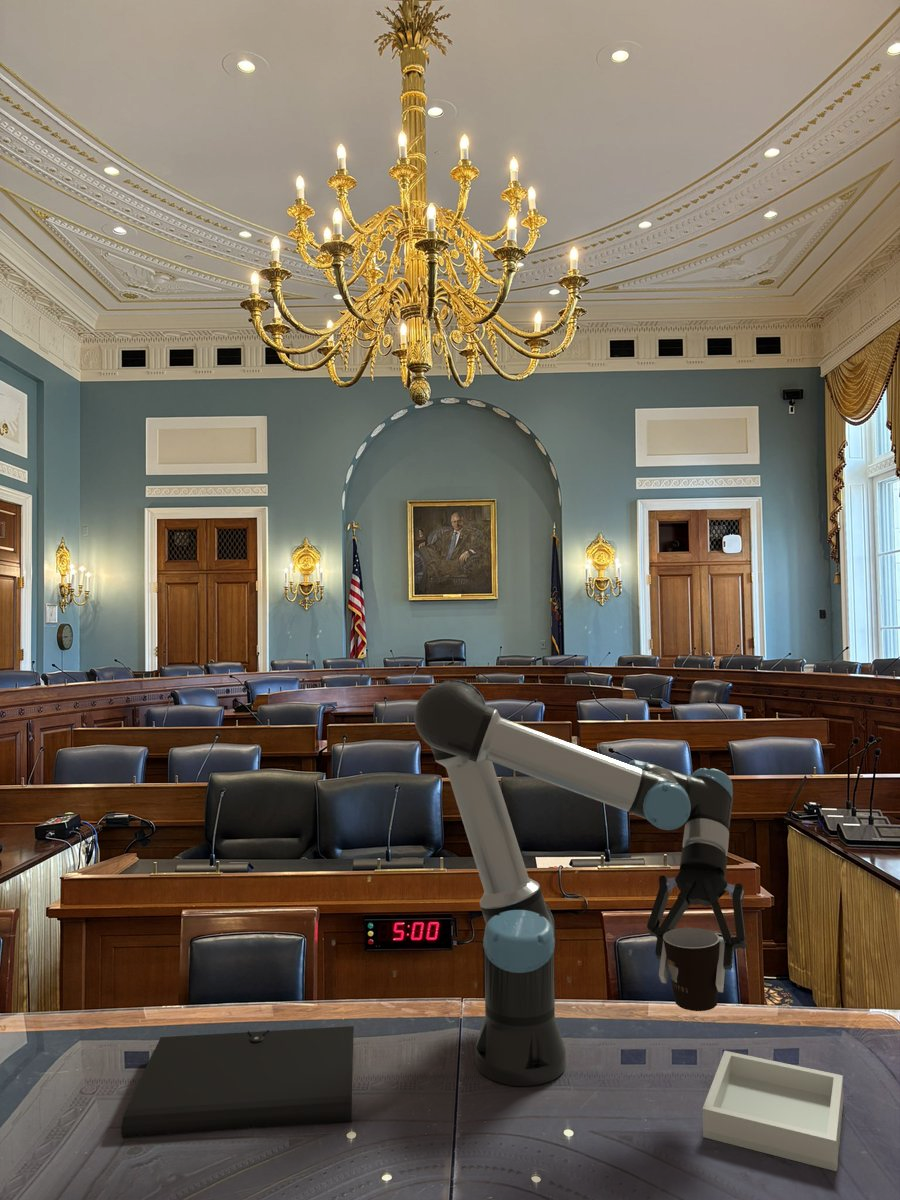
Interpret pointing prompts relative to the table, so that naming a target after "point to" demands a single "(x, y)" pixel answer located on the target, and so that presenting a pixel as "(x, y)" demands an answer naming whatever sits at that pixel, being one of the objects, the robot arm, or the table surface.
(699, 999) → the coffee mug
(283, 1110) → the file folder
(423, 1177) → the table surface
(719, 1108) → the white storage tray
